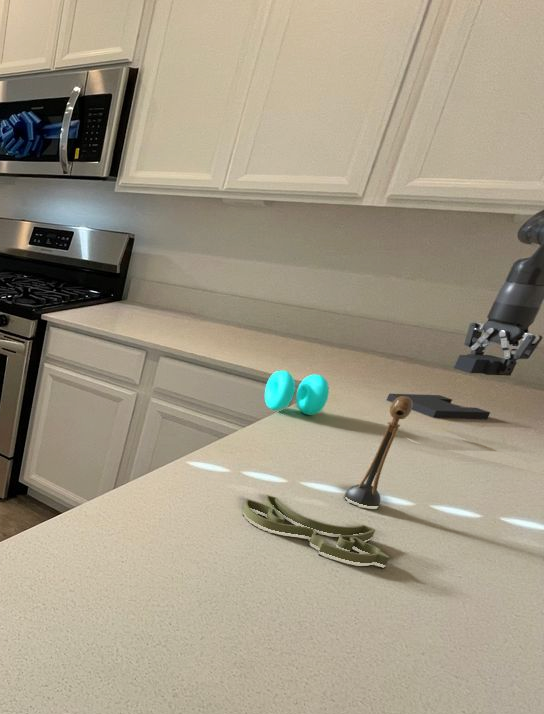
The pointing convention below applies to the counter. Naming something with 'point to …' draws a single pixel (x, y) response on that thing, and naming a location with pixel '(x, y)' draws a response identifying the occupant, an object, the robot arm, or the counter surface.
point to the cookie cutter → (344, 541)
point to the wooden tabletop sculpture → (380, 457)
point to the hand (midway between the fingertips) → (486, 369)
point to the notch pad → (441, 407)
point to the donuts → (308, 393)
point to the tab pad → (480, 364)
